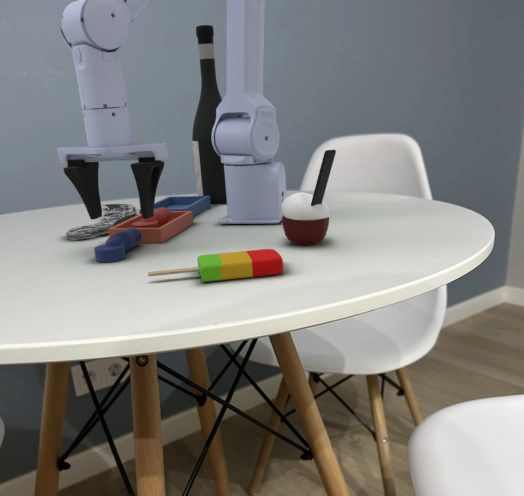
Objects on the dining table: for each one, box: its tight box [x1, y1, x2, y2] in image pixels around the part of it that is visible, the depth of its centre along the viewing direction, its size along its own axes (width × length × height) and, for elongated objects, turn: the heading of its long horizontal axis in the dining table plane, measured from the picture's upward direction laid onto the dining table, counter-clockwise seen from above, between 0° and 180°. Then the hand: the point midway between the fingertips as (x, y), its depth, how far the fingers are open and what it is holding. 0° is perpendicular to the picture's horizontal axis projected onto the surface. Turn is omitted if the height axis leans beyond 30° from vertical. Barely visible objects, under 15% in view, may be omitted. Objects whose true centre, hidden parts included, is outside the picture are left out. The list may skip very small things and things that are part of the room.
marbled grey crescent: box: [65, 203, 137, 241], centre depth 100 cm, size 28×2×10 cm
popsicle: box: [147, 248, 284, 283], centre depth 65 cm, size 6×15×2 cm, turn 100°
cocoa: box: [281, 149, 337, 246], centre depth 75 cm, size 10×6×12 cm, turn 9°
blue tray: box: [138, 195, 212, 218], centre depth 103 cm, size 8×13×2 cm, turn 167°
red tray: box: [108, 211, 194, 244], centre depth 89 cm, size 8×13×2 cm, turn 167°
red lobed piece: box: [132, 207, 171, 228], centre depth 89 cm, size 10×4×3 cm, turn 167°
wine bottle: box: [191, 24, 227, 205], centre depth 107 cm, size 8×8×30 cm
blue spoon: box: [93, 227, 142, 263], centre depth 78 cm, size 10×4×3 cm, turn 167°
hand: (122, 217), depth 78 cm, fingers open, 7 cm apart
